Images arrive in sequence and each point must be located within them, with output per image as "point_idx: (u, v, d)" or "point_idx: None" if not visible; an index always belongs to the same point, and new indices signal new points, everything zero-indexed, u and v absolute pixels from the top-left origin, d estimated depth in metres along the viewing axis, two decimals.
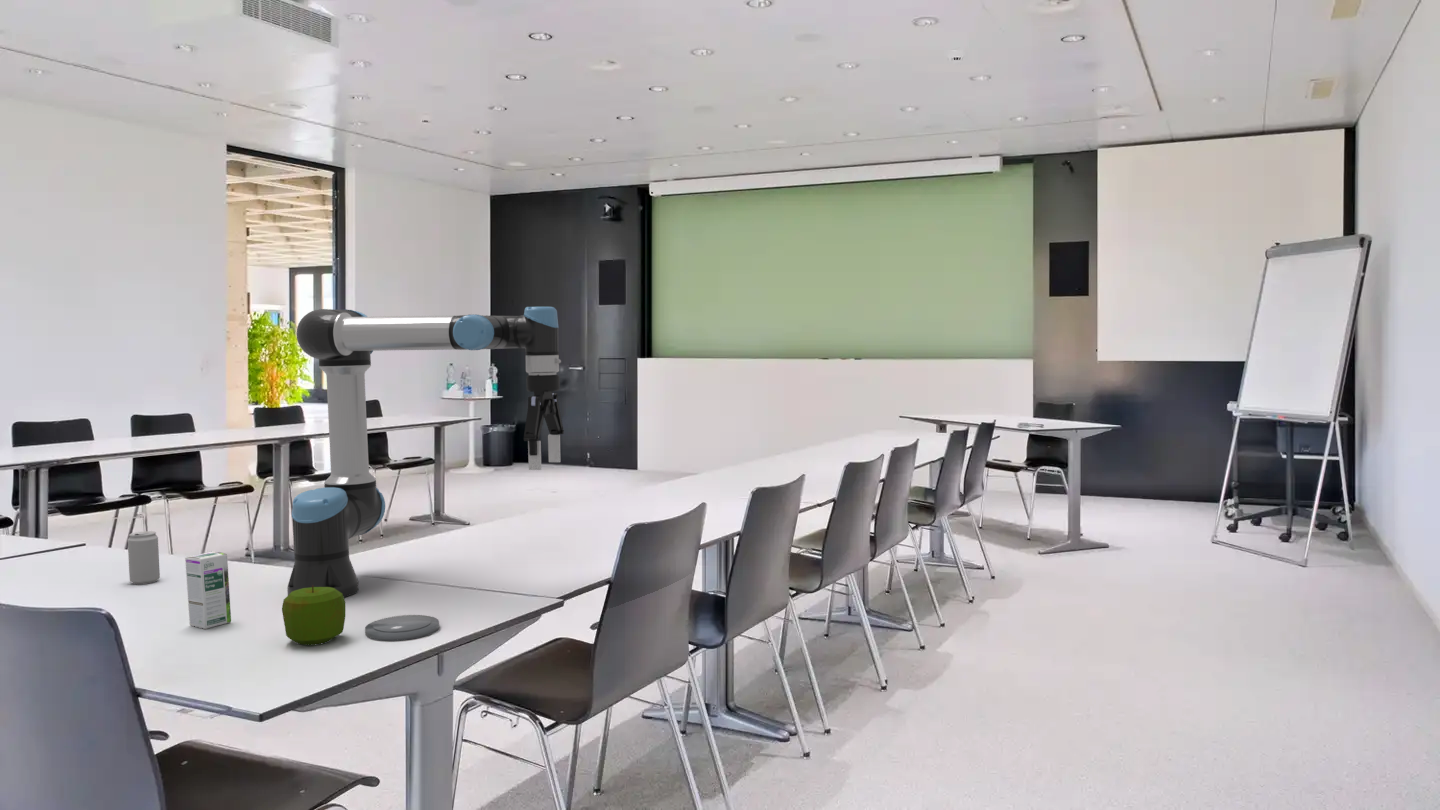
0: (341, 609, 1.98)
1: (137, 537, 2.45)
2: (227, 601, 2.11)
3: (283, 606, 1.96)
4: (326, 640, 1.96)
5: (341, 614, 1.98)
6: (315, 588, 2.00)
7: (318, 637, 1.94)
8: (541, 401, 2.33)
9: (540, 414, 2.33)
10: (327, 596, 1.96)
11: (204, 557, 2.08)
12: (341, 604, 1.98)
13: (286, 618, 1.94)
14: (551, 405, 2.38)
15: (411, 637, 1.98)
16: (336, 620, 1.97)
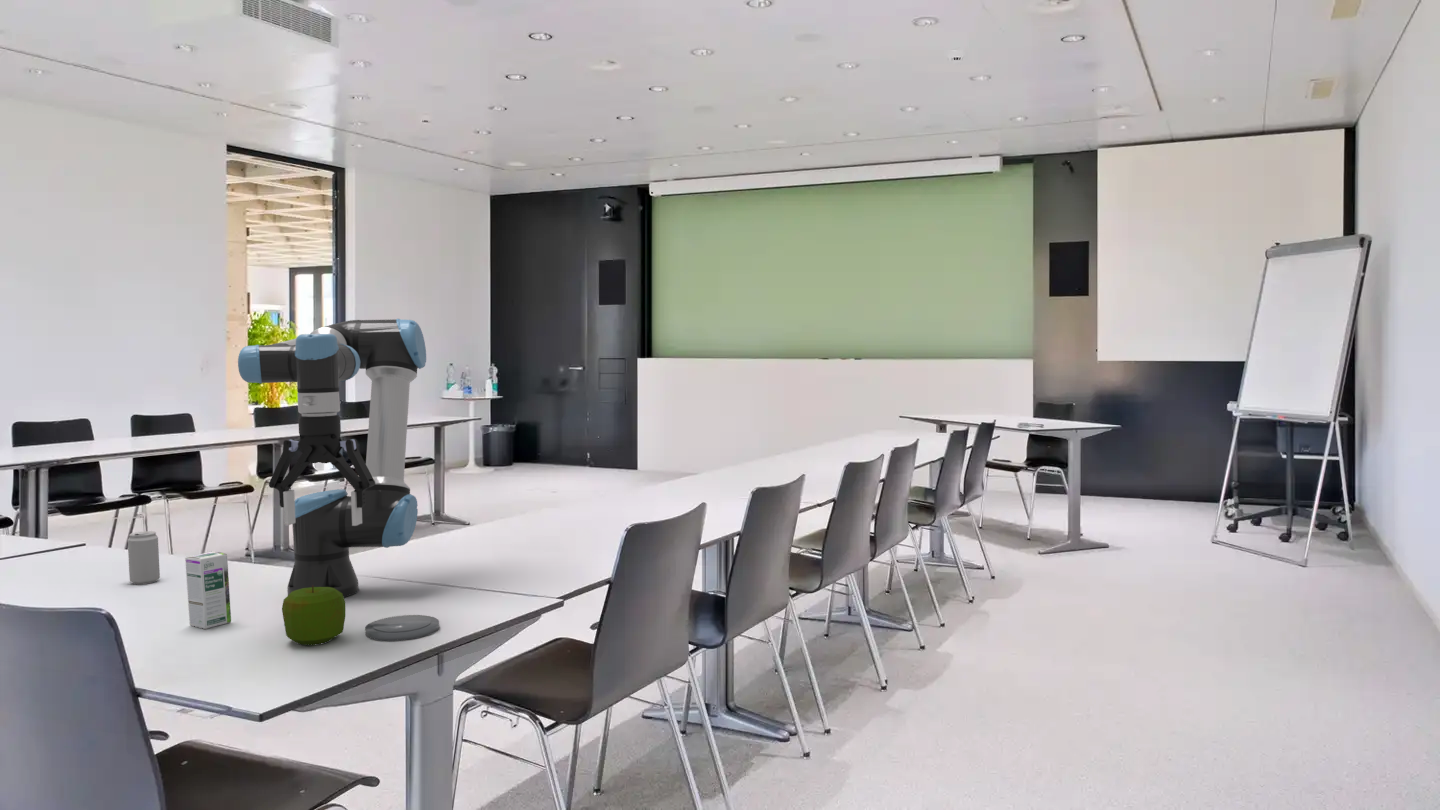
0: (341, 609, 1.98)
1: (137, 537, 2.45)
2: (227, 601, 2.11)
3: (283, 606, 1.96)
4: (326, 640, 1.96)
5: (341, 614, 1.98)
6: (315, 588, 2.00)
7: (318, 637, 1.94)
8: (298, 446, 1.98)
9: None
10: (327, 596, 1.96)
11: (204, 557, 2.08)
12: (341, 604, 1.98)
13: (286, 618, 1.94)
14: None
15: (411, 637, 1.98)
16: (336, 620, 1.97)
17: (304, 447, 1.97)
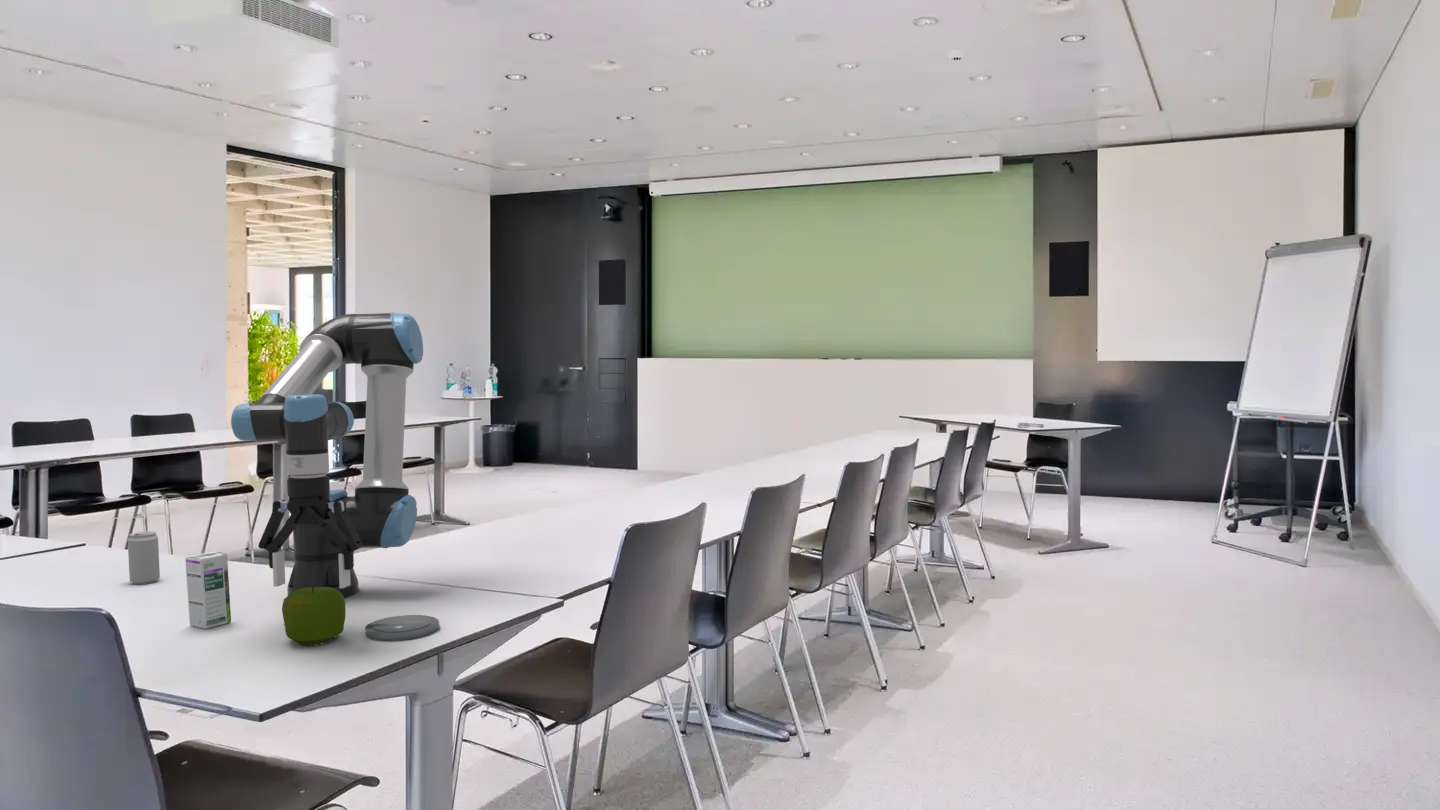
0: (341, 609, 1.98)
1: (137, 537, 2.45)
2: (227, 601, 2.11)
3: (283, 606, 1.96)
4: (326, 640, 1.96)
5: (341, 614, 1.98)
6: (315, 588, 2.00)
7: (318, 637, 1.94)
8: (287, 507, 1.97)
9: None
10: (327, 596, 1.96)
11: (204, 557, 2.08)
12: (341, 604, 1.98)
13: (286, 618, 1.94)
14: None
15: (411, 637, 1.98)
16: (336, 620, 1.97)
17: (293, 508, 1.96)
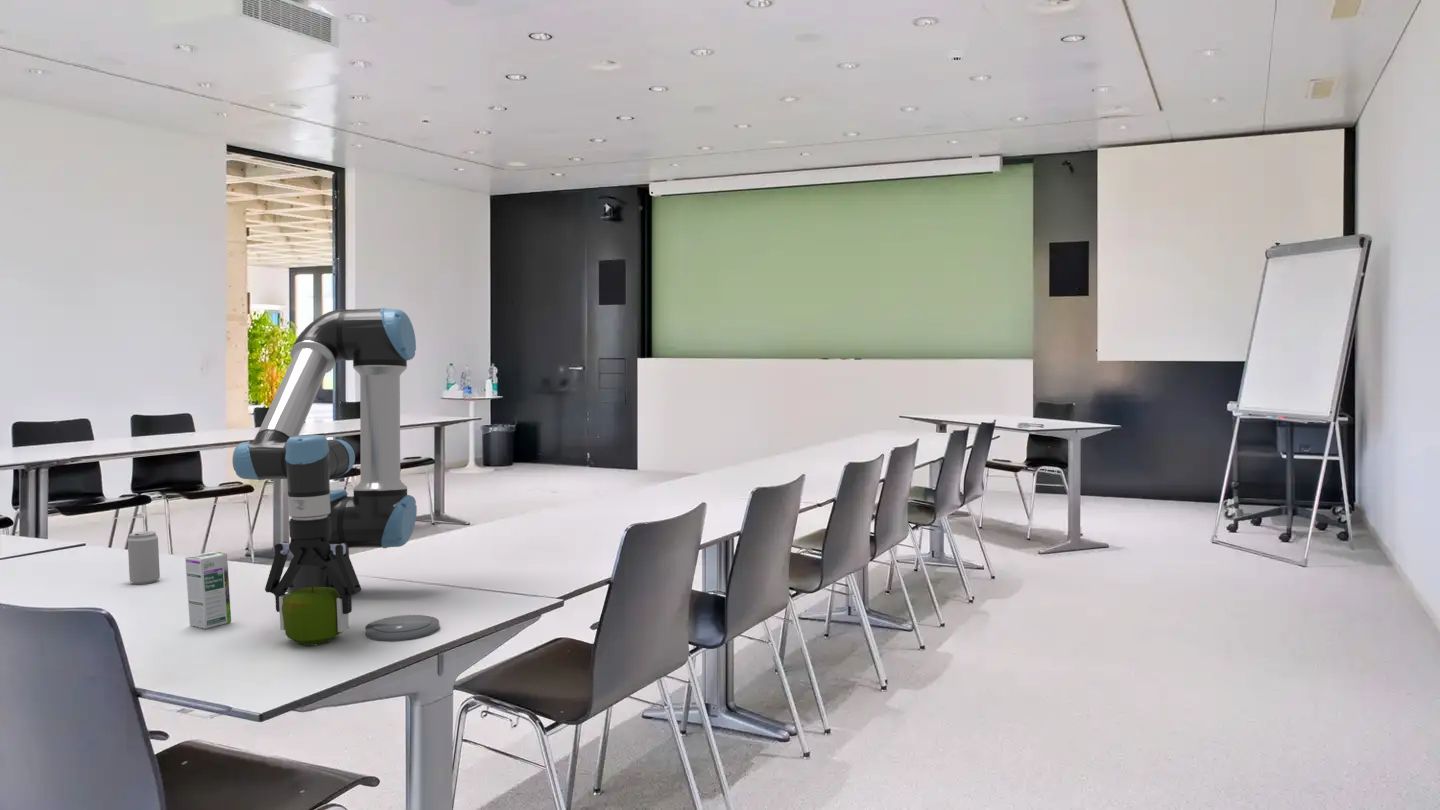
0: None
1: (137, 537, 2.45)
2: (227, 601, 2.11)
3: (283, 606, 1.96)
4: (326, 640, 1.96)
5: None
6: (315, 588, 2.00)
7: (317, 637, 1.94)
8: (289, 549, 1.97)
9: None
10: (327, 596, 1.95)
11: (204, 557, 2.08)
12: None
13: (286, 618, 1.94)
14: None
15: (411, 637, 1.98)
16: (336, 620, 1.96)
17: (295, 549, 1.97)
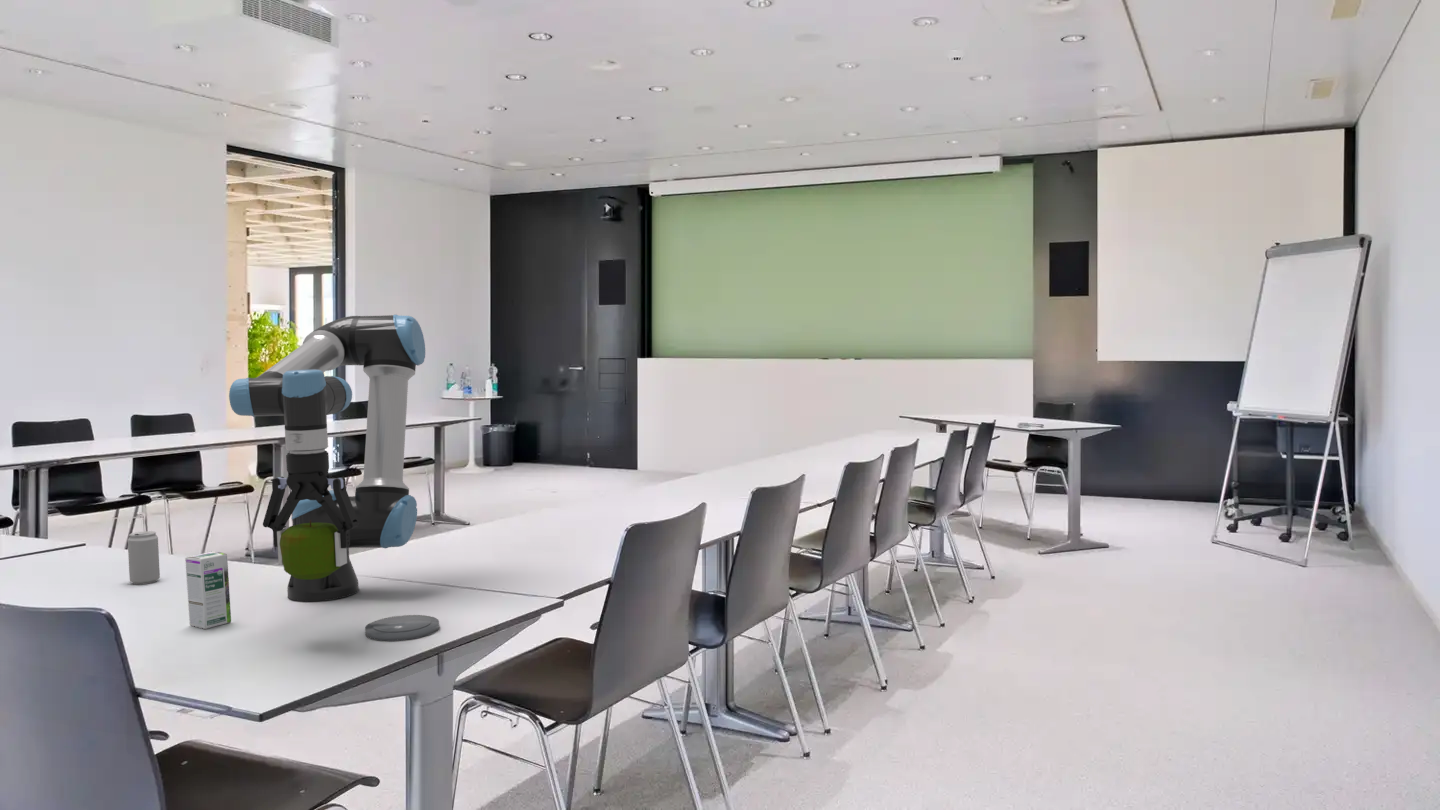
0: None
1: (137, 537, 2.45)
2: (227, 601, 2.11)
3: (281, 540, 1.95)
4: (324, 575, 1.96)
5: None
6: (313, 523, 1.99)
7: (316, 571, 1.94)
8: (287, 483, 1.97)
9: None
10: (324, 531, 1.95)
11: (204, 557, 2.08)
12: None
13: (284, 552, 1.94)
14: None
15: (411, 637, 1.98)
16: (334, 555, 1.96)
17: (292, 483, 1.96)
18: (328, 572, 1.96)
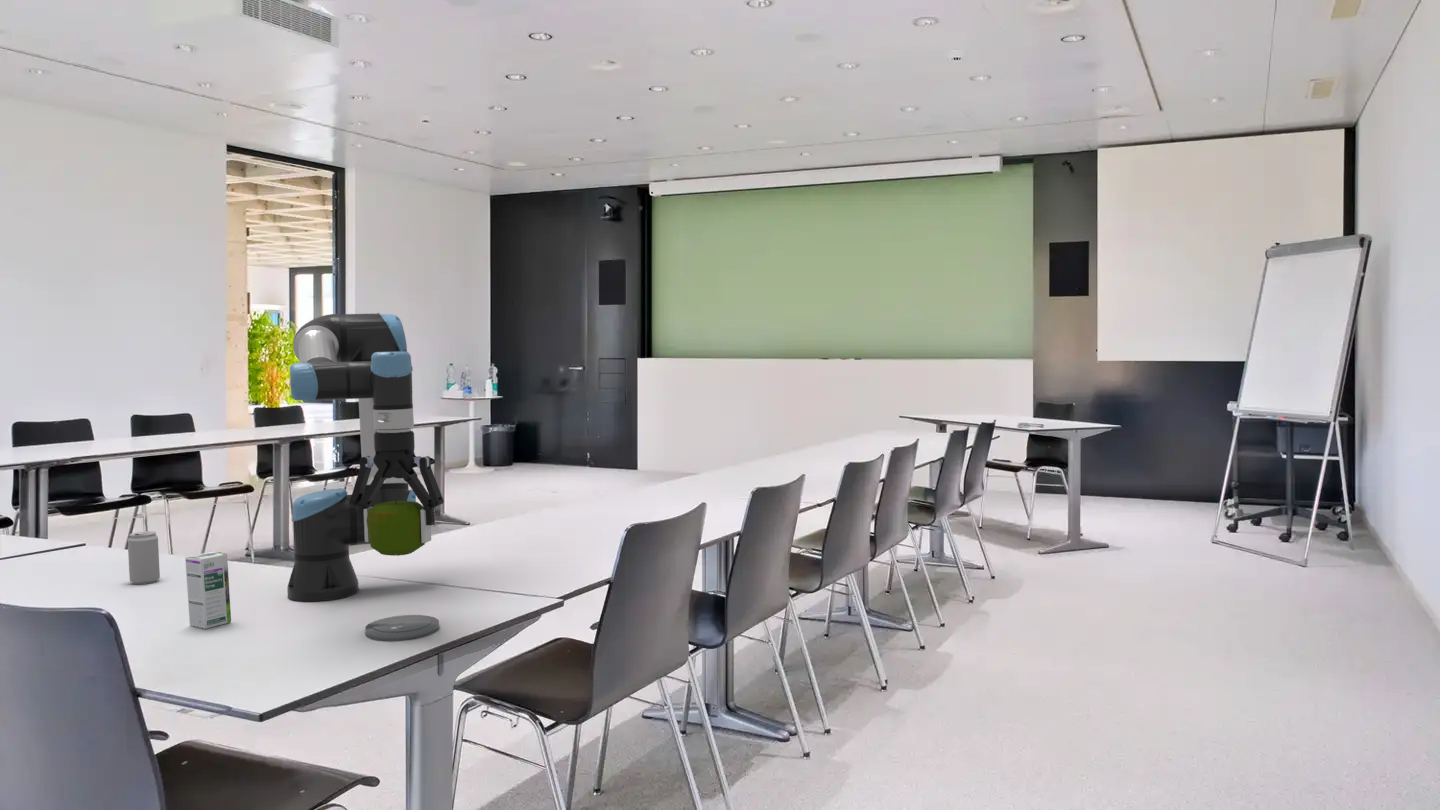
0: None
1: (137, 537, 2.45)
2: (227, 601, 2.11)
3: (368, 517, 2.00)
4: (410, 551, 2.00)
5: None
6: (398, 502, 2.04)
7: (402, 547, 1.98)
8: (374, 462, 2.02)
9: None
10: (411, 508, 2.00)
11: (204, 557, 2.08)
12: None
13: (371, 528, 1.99)
14: None
15: (411, 637, 1.98)
16: (419, 532, 2.01)
17: (379, 462, 2.01)
18: (414, 548, 2.00)
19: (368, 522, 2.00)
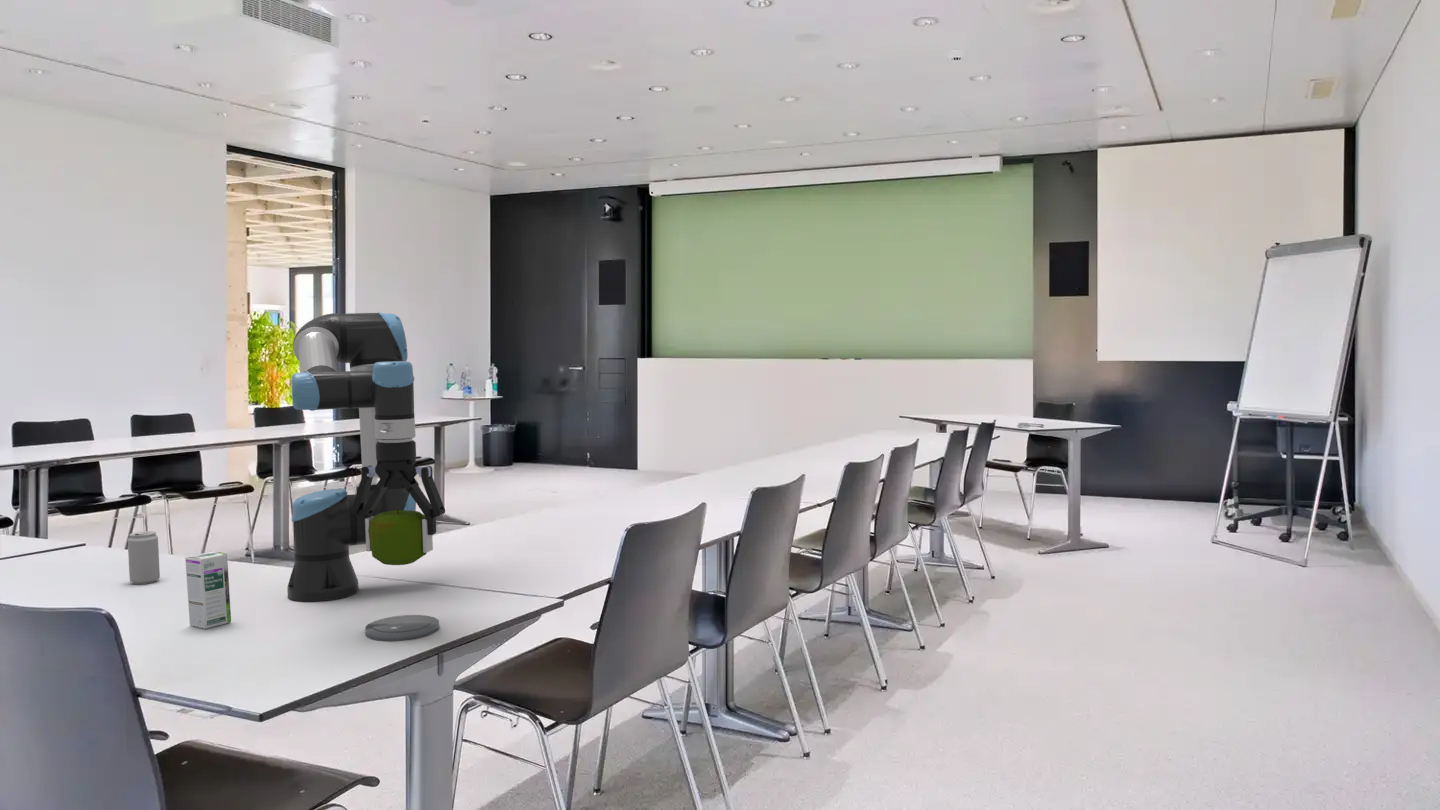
0: None
1: (137, 537, 2.45)
2: (227, 601, 2.11)
3: (370, 527, 2.00)
4: (411, 560, 2.01)
5: None
6: (399, 511, 2.05)
7: (404, 557, 1.99)
8: (375, 471, 2.02)
9: None
10: (412, 518, 2.00)
11: (204, 557, 2.08)
12: None
13: (373, 538, 1.99)
14: None
15: (411, 637, 1.98)
16: (421, 541, 2.01)
17: (381, 472, 2.02)
18: (415, 558, 2.01)
19: (370, 532, 2.00)
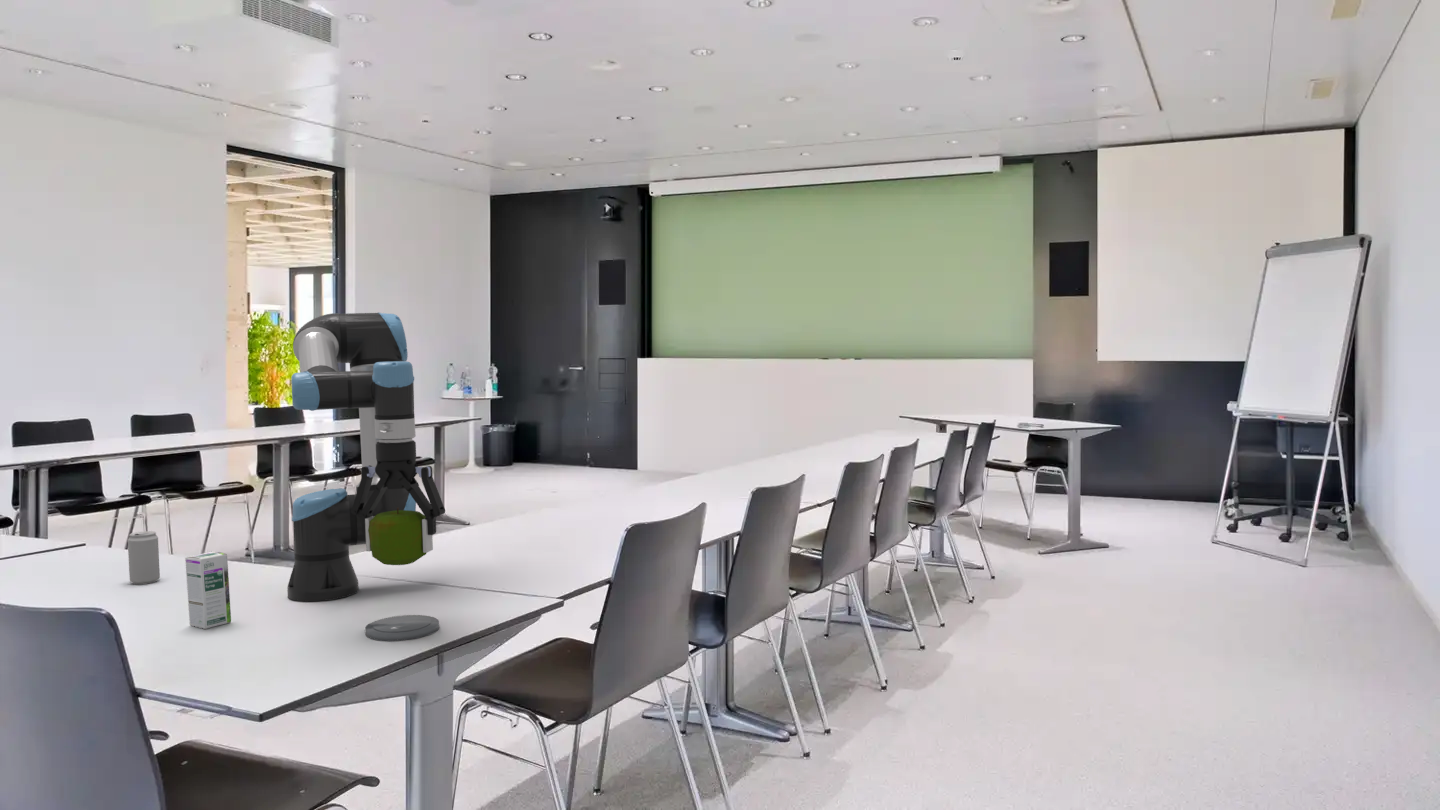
0: None
1: (137, 537, 2.45)
2: (227, 601, 2.11)
3: (370, 527, 2.00)
4: (411, 560, 2.01)
5: None
6: (399, 511, 2.05)
7: (404, 557, 1.99)
8: (375, 471, 2.02)
9: None
10: (412, 518, 2.00)
11: (204, 557, 2.08)
12: None
13: (373, 538, 1.99)
14: None
15: (411, 637, 1.98)
16: (421, 541, 2.01)
17: (381, 472, 2.02)
18: (415, 558, 2.01)
19: (370, 532, 2.00)
